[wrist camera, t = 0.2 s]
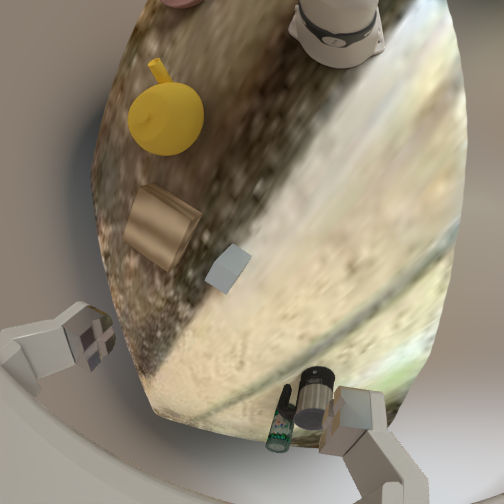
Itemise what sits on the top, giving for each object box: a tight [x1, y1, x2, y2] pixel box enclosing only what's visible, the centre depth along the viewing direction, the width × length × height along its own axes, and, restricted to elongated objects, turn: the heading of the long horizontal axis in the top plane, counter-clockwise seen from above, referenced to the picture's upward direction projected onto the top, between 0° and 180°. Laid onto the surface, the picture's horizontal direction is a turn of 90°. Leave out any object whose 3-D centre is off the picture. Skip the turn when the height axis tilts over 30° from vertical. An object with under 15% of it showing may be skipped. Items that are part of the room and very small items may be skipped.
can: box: [266, 404, 296, 453], centre depth 68 cm, size 6×6×15 cm
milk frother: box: [277, 366, 335, 430], centre depth 63 cm, size 14×16×15 cm
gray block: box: [205, 243, 252, 294], centre depth 57 cm, size 5×5×10 cm
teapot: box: [128, 58, 204, 156], centre depth 47 cm, size 20×16×14 cm
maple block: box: [122, 183, 202, 272], centre depth 61 cm, size 14×14×6 cm
